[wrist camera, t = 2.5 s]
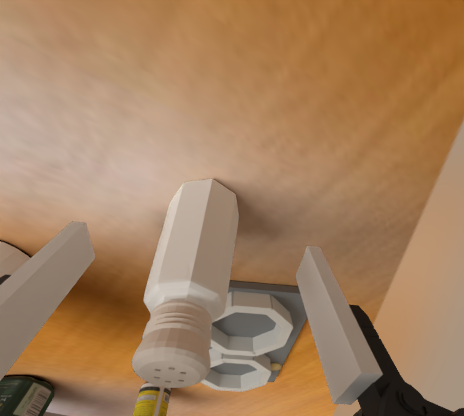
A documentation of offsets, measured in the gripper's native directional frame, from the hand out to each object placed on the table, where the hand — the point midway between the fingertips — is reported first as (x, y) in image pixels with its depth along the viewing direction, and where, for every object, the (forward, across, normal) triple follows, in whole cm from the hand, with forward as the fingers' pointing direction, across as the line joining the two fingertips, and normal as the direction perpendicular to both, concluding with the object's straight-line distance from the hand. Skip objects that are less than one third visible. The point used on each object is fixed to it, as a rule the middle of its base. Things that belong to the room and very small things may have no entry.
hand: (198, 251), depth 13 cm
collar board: (+5, +5, -18) cm, 19 cm away
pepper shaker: (+5, 0, 0) cm, 5 cm away
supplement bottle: (+5, -6, -35) cm, 36 cm away
